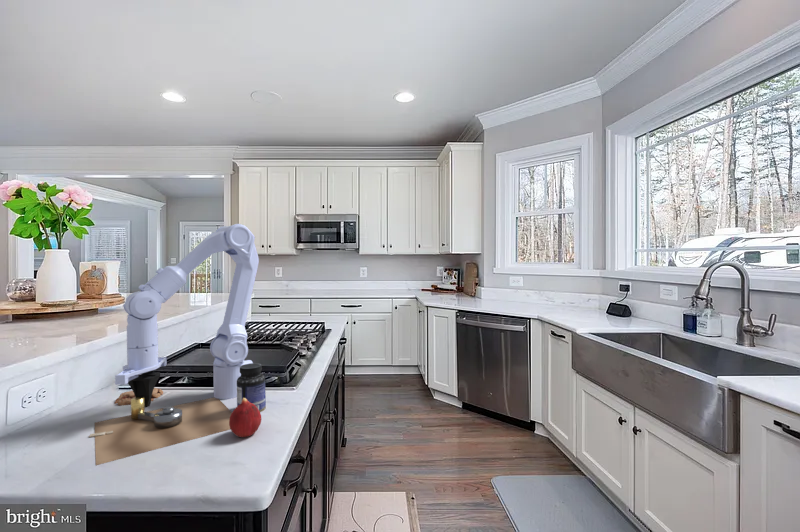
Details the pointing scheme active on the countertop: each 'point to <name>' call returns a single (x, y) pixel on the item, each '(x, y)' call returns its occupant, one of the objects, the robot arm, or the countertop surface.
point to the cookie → (127, 396)
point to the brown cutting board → (158, 430)
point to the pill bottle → (252, 385)
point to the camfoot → (160, 419)
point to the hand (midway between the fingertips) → (143, 406)
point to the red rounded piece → (245, 419)
